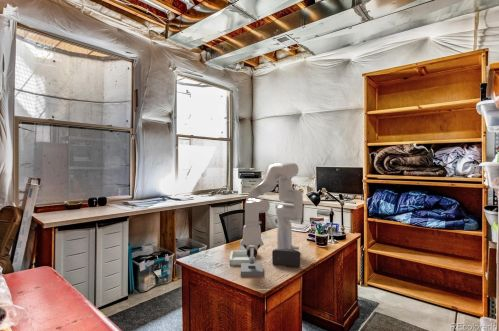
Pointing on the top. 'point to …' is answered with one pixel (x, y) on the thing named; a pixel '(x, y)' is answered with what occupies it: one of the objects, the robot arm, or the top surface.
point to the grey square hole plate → (251, 269)
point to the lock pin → (252, 254)
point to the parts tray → (238, 257)
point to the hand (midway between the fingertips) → (252, 256)
